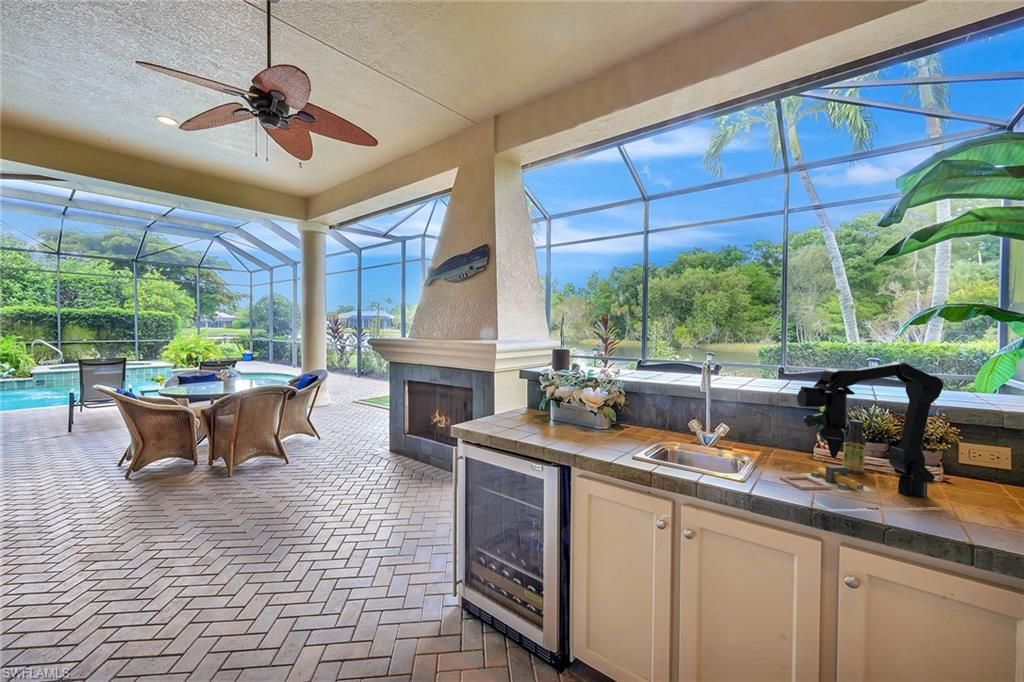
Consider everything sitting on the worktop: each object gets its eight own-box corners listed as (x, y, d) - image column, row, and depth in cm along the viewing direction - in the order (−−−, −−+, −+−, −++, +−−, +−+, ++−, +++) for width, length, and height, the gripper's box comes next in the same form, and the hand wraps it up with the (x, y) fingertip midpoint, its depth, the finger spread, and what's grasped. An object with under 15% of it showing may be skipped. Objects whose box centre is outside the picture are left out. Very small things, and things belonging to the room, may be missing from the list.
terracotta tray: (806, 480, 143) (806, 475, 143) (830, 491, 133) (830, 486, 133) (779, 480, 143) (779, 476, 143) (801, 491, 133) (802, 487, 133)
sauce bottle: (841, 472, 152) (843, 420, 152) (842, 468, 157) (844, 417, 156) (864, 477, 148) (866, 423, 147) (865, 472, 152) (866, 420, 152)
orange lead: (814, 474, 147) (814, 466, 147) (822, 474, 147) (822, 466, 147) (851, 490, 132) (852, 481, 132) (860, 490, 133) (860, 481, 132)
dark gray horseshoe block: (841, 480, 141) (841, 465, 141) (847, 483, 139) (847, 467, 139) (825, 480, 141) (825, 465, 141) (831, 483, 139) (831, 467, 138)
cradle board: (799, 475, 148) (799, 469, 148) (832, 475, 149) (832, 469, 149) (840, 494, 131) (840, 487, 131) (877, 493, 132) (877, 487, 132)
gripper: (810, 401, 146) (810, 444, 146) (800, 408, 132) (800, 455, 133) (850, 404, 138) (850, 450, 138) (844, 412, 125) (844, 463, 125)
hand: (835, 454), depth 134 cm, fingers open, 9 cm apart
